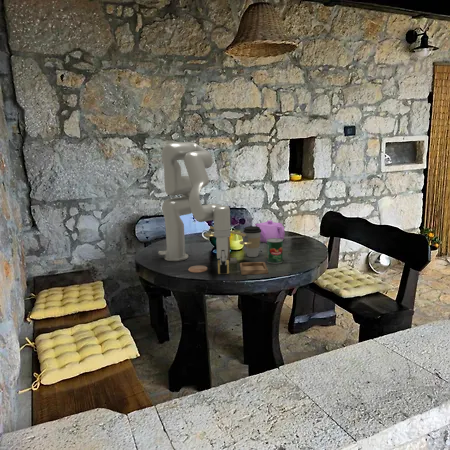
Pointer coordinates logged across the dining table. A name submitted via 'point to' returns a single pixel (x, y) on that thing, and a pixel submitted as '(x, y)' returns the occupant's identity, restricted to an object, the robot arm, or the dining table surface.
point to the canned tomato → (274, 250)
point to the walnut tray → (253, 268)
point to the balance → (244, 242)
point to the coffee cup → (252, 240)
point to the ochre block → (226, 264)
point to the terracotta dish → (197, 269)
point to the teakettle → (270, 230)
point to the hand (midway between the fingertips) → (223, 270)
